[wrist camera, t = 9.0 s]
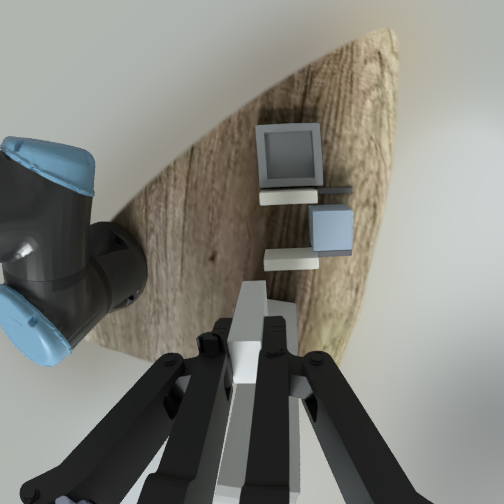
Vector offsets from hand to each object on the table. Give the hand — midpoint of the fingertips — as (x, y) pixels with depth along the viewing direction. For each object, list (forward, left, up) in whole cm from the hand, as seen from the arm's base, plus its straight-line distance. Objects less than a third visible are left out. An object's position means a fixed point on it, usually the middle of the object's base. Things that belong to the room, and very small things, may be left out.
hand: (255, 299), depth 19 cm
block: (+8, 0, -22) cm, 23 cm away
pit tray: (+3, +10, -22) cm, 24 cm away
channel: (+3, 0, -22) cm, 22 cm away
